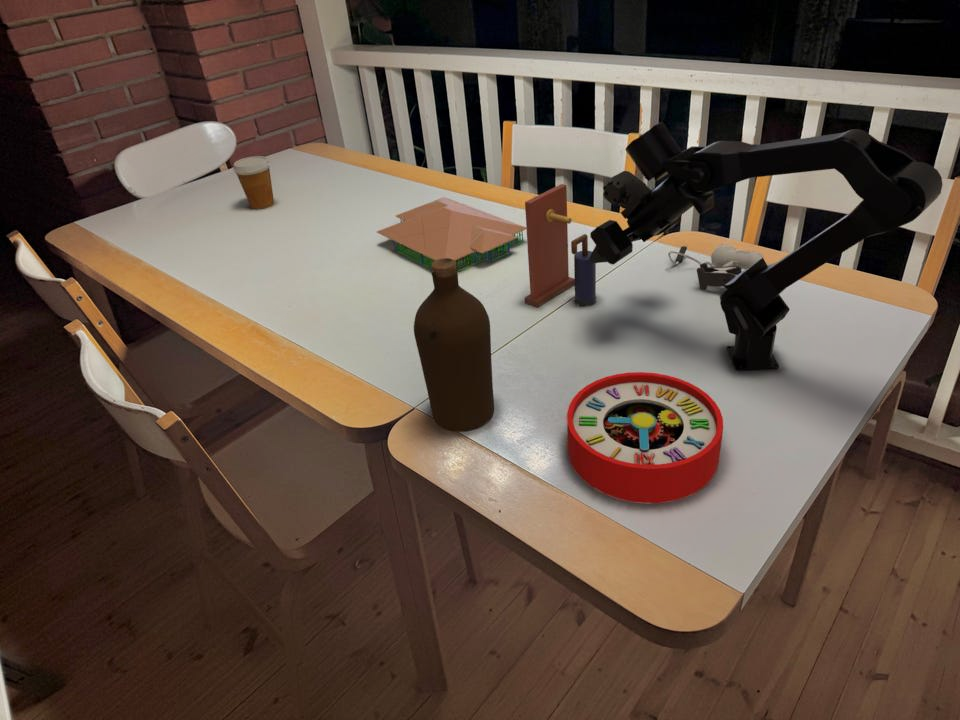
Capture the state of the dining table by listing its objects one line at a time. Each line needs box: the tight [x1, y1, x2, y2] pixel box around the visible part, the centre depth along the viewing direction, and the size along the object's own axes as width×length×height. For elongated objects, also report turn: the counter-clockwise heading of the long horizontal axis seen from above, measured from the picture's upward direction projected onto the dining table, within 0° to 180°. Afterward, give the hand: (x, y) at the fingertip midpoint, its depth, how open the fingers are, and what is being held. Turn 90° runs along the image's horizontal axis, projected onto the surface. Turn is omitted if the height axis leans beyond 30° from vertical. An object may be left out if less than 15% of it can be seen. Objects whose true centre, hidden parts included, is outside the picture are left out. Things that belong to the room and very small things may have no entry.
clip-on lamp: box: [667, 243, 765, 290], centre depth 132 cm, size 12×6×18 cm
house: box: [376, 196, 527, 273], centre depth 154 cm, size 23×33×8 cm
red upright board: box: [524, 183, 575, 308], centre depth 126 cm, size 7×11×20 cm, turn 136°
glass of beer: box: [232, 155, 275, 210], centre depth 185 cm, size 10×10×12 cm
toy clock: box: [566, 371, 724, 504], centre depth 93 cm, size 20×6×20 cm
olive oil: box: [413, 258, 495, 433], centre depth 98 cm, size 11×11×25 cm
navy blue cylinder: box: [570, 233, 597, 307], centre depth 125 cm, size 6×4×13 cm
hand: (607, 250), depth 120 cm, fingers open, 9 cm apart
